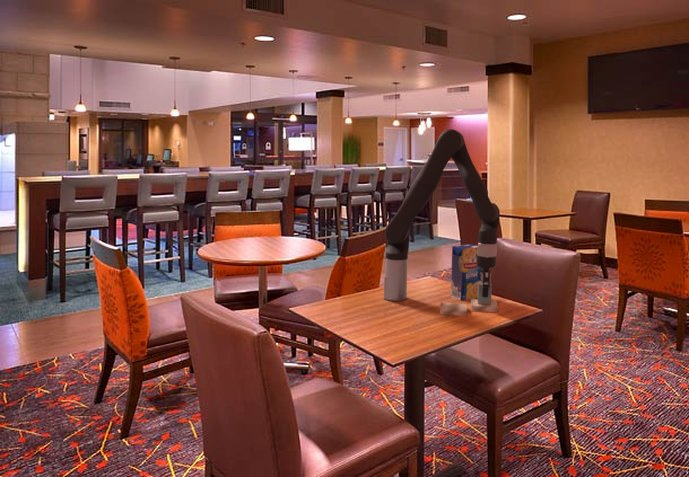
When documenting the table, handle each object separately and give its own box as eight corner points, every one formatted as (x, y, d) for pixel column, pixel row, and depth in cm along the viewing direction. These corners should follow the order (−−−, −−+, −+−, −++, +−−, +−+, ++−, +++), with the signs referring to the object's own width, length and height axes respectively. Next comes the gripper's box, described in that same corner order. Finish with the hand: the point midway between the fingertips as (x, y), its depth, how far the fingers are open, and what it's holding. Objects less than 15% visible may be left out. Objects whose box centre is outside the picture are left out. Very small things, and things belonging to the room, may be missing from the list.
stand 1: (439, 314, 210) (440, 309, 210) (440, 307, 220) (440, 302, 219) (466, 316, 208) (466, 311, 208) (466, 308, 218) (466, 303, 217)
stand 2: (471, 310, 215) (471, 305, 215) (470, 303, 225) (470, 298, 225) (497, 312, 213) (498, 307, 213) (495, 305, 223) (496, 300, 223)
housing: (477, 304, 217) (478, 284, 216) (477, 300, 222) (478, 281, 221) (490, 305, 216) (491, 285, 215) (490, 301, 221) (491, 282, 220)
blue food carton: (480, 297, 235) (482, 246, 231) (461, 300, 229) (463, 248, 226) (469, 293, 241) (471, 244, 237) (450, 296, 235) (452, 246, 232)
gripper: (476, 250, 223) (474, 289, 226) (477, 257, 209) (475, 298, 212) (495, 251, 222) (493, 290, 224) (497, 258, 208) (495, 299, 211)
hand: (484, 294), depth 218 cm, fingers open, 8 cm apart
